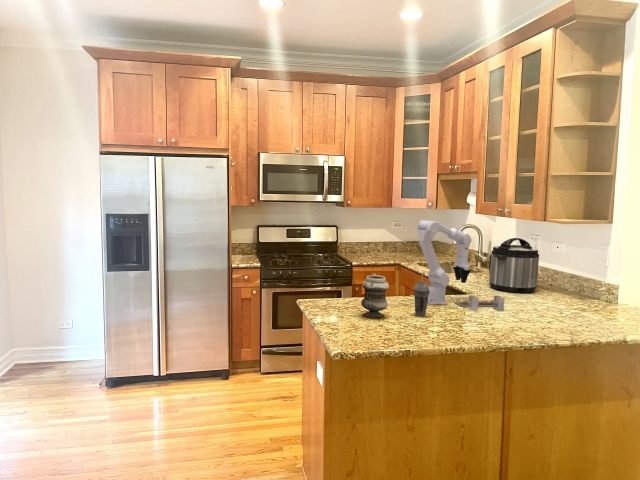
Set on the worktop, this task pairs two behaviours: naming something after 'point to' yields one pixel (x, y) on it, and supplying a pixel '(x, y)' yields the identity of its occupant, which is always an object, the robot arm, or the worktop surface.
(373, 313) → the apothecary jar
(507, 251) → the pressure cooker
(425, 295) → the beverage cup
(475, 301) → the hook stands
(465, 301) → the rail
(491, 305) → the mat
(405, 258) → the worktop surface
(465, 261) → the robot arm
